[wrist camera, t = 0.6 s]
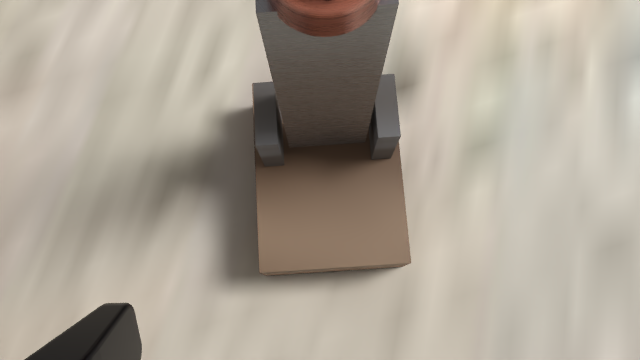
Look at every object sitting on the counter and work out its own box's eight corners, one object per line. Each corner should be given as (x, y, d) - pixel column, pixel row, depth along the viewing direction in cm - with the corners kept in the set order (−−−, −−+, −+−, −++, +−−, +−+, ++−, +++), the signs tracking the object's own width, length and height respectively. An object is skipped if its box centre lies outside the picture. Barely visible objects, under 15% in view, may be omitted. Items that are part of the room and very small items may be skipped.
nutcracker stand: (402, 266, 23) (425, 256, 18) (266, 275, 23) (248, 268, 18) (385, 96, 25) (401, 40, 20) (259, 105, 25) (241, 51, 19)
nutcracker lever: (365, 156, 21) (415, -26, 9) (290, 160, 21) (243, -15, 9) (360, 94, 21) (400, -150, 10) (286, 99, 21) (239, -140, 10)
